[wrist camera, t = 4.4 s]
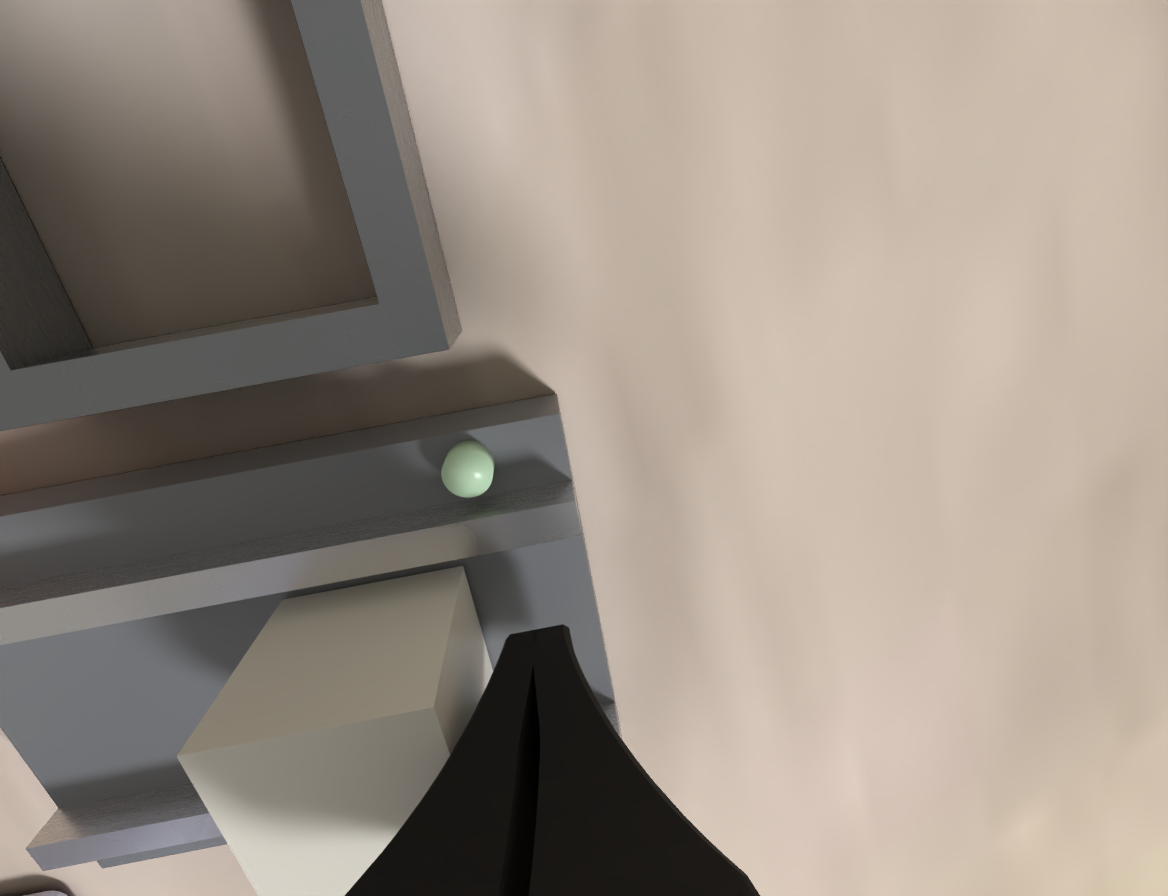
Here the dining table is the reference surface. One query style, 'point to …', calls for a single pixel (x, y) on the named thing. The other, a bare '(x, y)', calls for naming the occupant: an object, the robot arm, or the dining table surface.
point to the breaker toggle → (338, 727)
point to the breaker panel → (256, 594)
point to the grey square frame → (269, 344)
